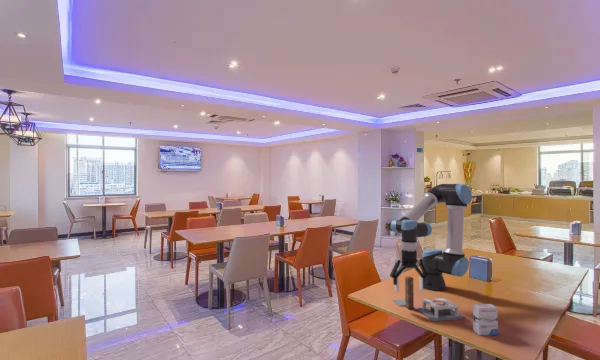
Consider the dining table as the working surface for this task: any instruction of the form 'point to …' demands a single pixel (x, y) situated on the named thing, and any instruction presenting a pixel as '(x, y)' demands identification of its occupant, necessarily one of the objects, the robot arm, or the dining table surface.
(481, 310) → the ink box
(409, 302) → the walnut rod
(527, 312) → the dining table surface
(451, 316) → the white open frame stand
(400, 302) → the mat
